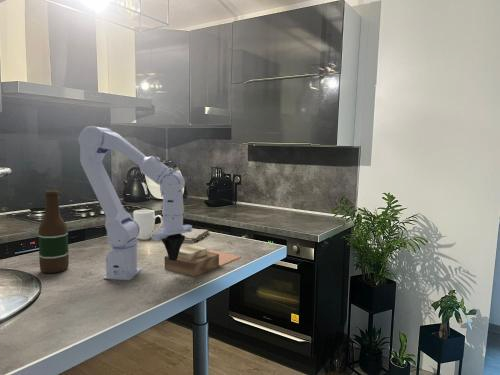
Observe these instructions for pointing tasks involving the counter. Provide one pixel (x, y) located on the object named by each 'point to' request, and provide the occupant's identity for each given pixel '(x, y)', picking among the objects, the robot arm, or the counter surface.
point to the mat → (225, 257)
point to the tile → (192, 252)
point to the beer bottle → (53, 237)
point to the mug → (146, 222)
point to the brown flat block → (193, 264)
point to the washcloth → (194, 235)
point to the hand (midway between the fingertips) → (173, 259)
